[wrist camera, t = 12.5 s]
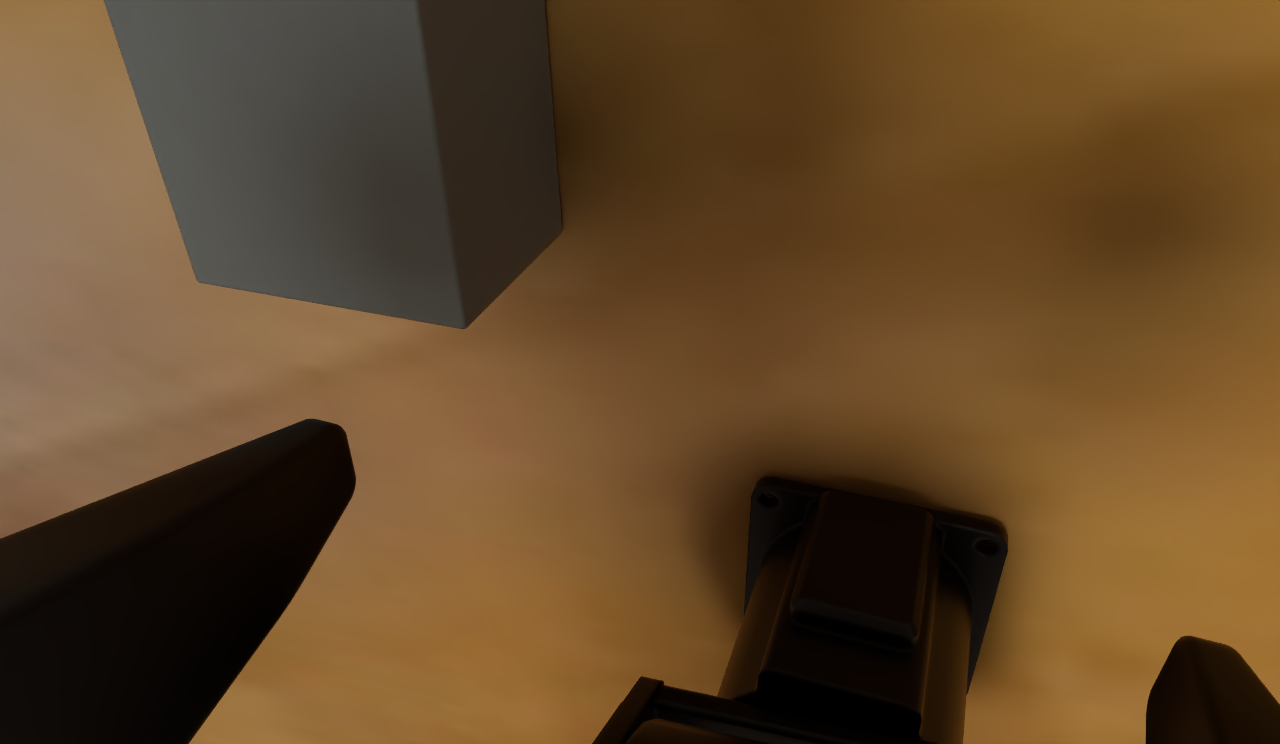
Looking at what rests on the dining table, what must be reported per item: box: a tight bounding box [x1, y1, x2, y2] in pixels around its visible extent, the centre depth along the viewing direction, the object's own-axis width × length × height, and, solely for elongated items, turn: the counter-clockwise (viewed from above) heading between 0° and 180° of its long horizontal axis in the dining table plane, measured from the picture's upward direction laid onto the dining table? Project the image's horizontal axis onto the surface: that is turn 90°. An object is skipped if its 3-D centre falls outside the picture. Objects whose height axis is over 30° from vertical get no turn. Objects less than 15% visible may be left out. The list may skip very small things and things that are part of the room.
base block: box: [104, 0, 562, 329], centre depth 20 cm, size 7×7×5 cm
